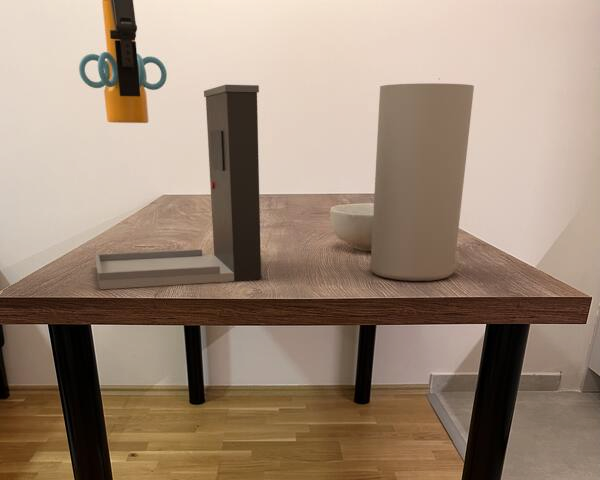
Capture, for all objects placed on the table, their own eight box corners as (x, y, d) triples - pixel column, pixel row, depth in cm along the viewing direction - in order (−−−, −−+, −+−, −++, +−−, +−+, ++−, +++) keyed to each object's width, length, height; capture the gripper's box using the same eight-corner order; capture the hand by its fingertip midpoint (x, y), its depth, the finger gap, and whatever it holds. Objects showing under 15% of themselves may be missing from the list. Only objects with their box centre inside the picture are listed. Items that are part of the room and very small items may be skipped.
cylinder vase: (356, 268, 100) (364, 87, 89) (425, 263, 104) (441, 90, 93) (395, 284, 89) (409, 82, 79) (470, 278, 94) (493, 85, 83)
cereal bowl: (311, 246, 119) (311, 206, 116) (376, 238, 128) (378, 201, 125) (372, 259, 107) (374, 215, 104) (439, 250, 116) (443, 209, 113)
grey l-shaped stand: (100, 289, 86) (72, 80, 75) (96, 268, 99) (72, 88, 89) (262, 279, 92) (258, 85, 82) (239, 260, 106) (232, 91, 95)
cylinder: (138, 122, 88) (126, -9, 81) (73, 121, 91) (57, -5, 84) (179, 124, 98) (172, 8, 92) (120, 123, 101) (109, 11, 95)
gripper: (148, -115, 75) (163, 94, 84) (129, -63, 95) (142, 101, 104) (81, -124, 73) (104, 93, 82) (76, -68, 93) (95, 100, 102)
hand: (126, 98), depth 93 cm, fingers closed on cylinder, 11 cm apart
